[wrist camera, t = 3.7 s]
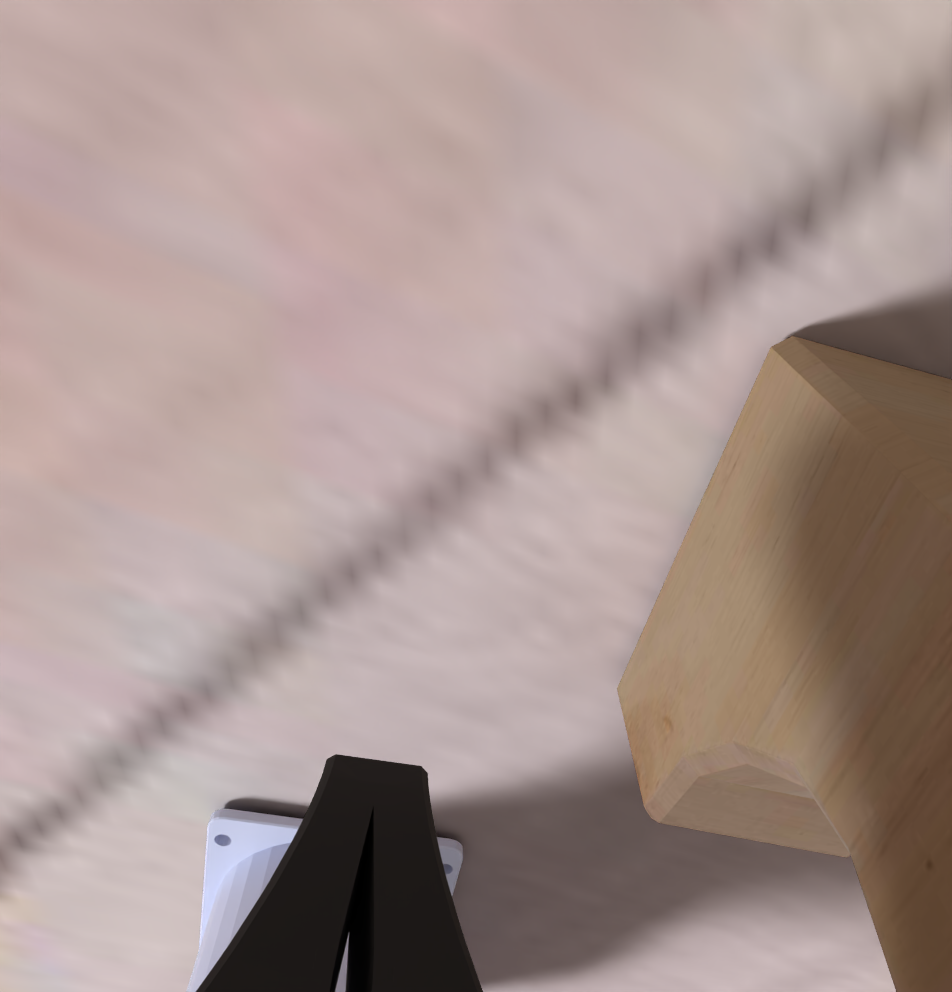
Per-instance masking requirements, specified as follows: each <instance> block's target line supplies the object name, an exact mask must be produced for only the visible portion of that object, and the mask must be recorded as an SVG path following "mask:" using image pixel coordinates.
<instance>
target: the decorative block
mask: <svg viewBox="0 0 952 992" xmlns="http://www.w3.org/2000/svg"><path fill="white" fill-rule="evenodd" d="M617 691H618V695H619V699H620V704H621V708H622V713H623V717H624V721H625V726H626V730H627V734H628V739H629V743H630V748H631V752H632V756H633V761H634V765H635V769H636V774H637V778H638V783H639V787H640V791H641V796H642V800H643V805H644V808H645V809H646V811H647V812H648V814H649V816H650V817H651V819H653V820H655V821H657V822H658V823H661V824H667V825H672V826H678V827H683V828H689V829H694V830H699V831H705V832H710V833H716V834H721V835H726V836H732V837H737V838H743V839H748V840H754V841H759V842H764V843H770V844H775V845H781V846H786V847H791V848H797V849H802V850H808V851H813V852H818V853H824V854H829V855H835V856H840V857H846V858H848V857H849V856H850V855H851V857H852V860H853V863H854V866H855V869H856V872H857V875H858V878H859V881H860V884H861V887H862V890H863V893H864V896H865V899H866V902H867V905H868V908H869V911H870V914H871V917H872V920H873V923H874V926H875V929H876V932H877V935H878V938H879V941H880V944H881V947H882V950H883V953H884V956H885V959H886V962H887V965H888V968H889V971H890V974H891V977H892V980H893V983H894V986H895V989H896V992H952V379H948V378H944V377H941V376H937V375H933V374H930V373H926V372H923V371H919V370H915V369H912V368H908V367H904V366H901V365H897V364H893V363H890V362H886V361H882V360H879V359H875V358H871V357H868V356H864V355H860V354H857V353H853V352H849V351H846V350H842V349H838V348H835V347H831V346H827V345H824V344H820V343H816V342H813V341H809V340H805V339H802V338H798V337H794V336H792V337H790V338H788V339H786V340H784V341H782V342H780V343H778V344H776V345H774V346H772V347H771V348H770V350H769V352H768V355H767V357H766V359H765V361H764V363H763V366H762V368H761V370H760V372H759V375H758V377H757V379H756V381H755V383H754V386H753V388H752V390H751V392H750V394H749V397H748V399H747V401H746V403H745V405H744V408H743V410H742V412H741V414H740V416H739V419H738V421H737V423H736V425H735V427H734V430H733V432H732V434H731V436H730V439H729V441H728V443H727V445H726V447H725V450H724V452H723V454H722V456H721V458H720V461H719V463H718V465H717V467H716V469H715V472H714V474H713V476H712V478H711V480H710V483H709V485H708V487H707V489H706V492H705V494H704V496H703V498H702V500H701V503H700V505H699V507H698V509H697V511H696V514H695V516H694V518H693V520H692V522H691V525H690V527H689V529H688V531H687V533H686V536H685V538H684V540H683V542H682V545H681V547H680V549H679V551H678V553H677V556H676V558H675V560H674V562H673V565H672V567H671V569H670V571H669V574H668V576H667V578H666V580H665V583H664V585H663V587H662V589H661V592H660V594H659V596H658V598H657V600H656V603H655V605H654V607H653V609H652V612H651V614H650V616H649V618H648V621H647V623H646V625H645V627H644V630H643V632H642V634H641V636H640V639H639V641H638V643H637V645H636V647H635V650H634V652H633V654H632V656H631V659H630V661H629V663H628V665H627V668H626V670H625V672H624V674H623V677H622V679H621V681H620V683H619V685H618V688H617Z"/></svg>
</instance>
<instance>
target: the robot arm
mask: <svg viewBox="0 0 952 992" xmlns="http://www.w3.org/2000/svg"><path fill="white" fill-rule="evenodd" d="M223 834H224V835H223ZM462 861H463V847H462V845H461V843H459V842H458V841H456V840H453V839H449V838H441V837H437V836H436V831H435V826H434V821H433V815H432V809H431V803H430V795H429V787H428V773H427V772H426V771H425V770H424V769H423V768H422V766H416V765H409V764H402V763H394V762H387V761H380V760H373V759H365V758H358V757H351V756H344V755H334V756H332V757H330V758H328V759H327V761H326V764H325V767H324V771H323V774H322V777H321V779H320V782H319V785H318V787H317V790H316V792H315V795H314V797H313V799H312V801H311V804H310V806H309V808H308V810H307V812H306V814H305V816H304V818H303V819H300V818H293V817H285V816H278V815H270V814H263V813H255V812H248V811H241V810H233V809H220V810H217V811H215V812H214V813H212V815H211V818H210V821H209V824H208V830H207V844H206V858H205V872H204V886H203V901H202V915H201V929H200V943H199V952H198V955H197V959H196V962H195V965H194V968H193V972H192V975H191V978H190V981H189V985H188V988H187V991H186V992H483V990H482V988H481V985H480V982H479V980H478V977H477V974H476V971H475V968H474V965H473V962H472V959H471V957H470V954H469V951H468V948H467V945H466V942H465V939H464V936H463V933H462V929H461V926H460V923H459V920H458V917H457V913H456V910H455V906H454V902H453V899H452V896H453V892H454V889H455V885H456V882H457V878H458V875H459V871H460V868H461V864H462Z"/></svg>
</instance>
